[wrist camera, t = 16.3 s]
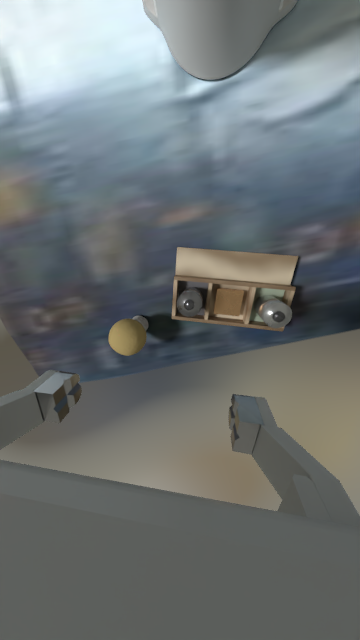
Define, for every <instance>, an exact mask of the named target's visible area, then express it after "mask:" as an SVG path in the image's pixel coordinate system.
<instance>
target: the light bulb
mask: <svg viewBox="0 0 360 640" xmlns="http://www.w3.org/2000/svg"><path fill="white" fill-rule="evenodd" d="M147 329H148V321H147V320H146V318H144V317H143V316H135V317H134V318H133V319H123V320H120V321H118V322H117V323H116V324H115V325H114V326H113V327H112V328H111V330H110V333H109V344H110V346H111V347H112V348H113V349H114V350H115V351H116V352H118V353H120V354H122V355H127V356H129V355H133V354H135V353H137V352H139V351H140V350H141V349H142V348H143V346H144V344H145V342H146V330H147Z"/></svg>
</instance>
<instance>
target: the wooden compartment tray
mask: <svg viewBox="0 0 360 640" xmlns="http://www.w3.org/2000/svg"><path fill="white" fill-rule="evenodd" d="M297 259H298V256H288V255H275V254H262V253H248V252H235V251H222V250H208V249H195V248H182V247H177V260H176V275H175V276H174V289H173V306H172V319H177V320H186V321H195V322H204V323H213V324H222V325H231V326H240V327H248V328H257V329H266V330H275V331H283V330H284V327H281V328H271V327H269V326H268V325H267V324H266V323H265V322H264V321H263V320H262V319H261V317H260V316H259V315H258V314H257V313H256V311H255V309H254V303H255V301H256V300H257V298H259V297H260V296H262V295H272V296H274V297H275V298H277V299H278V300H280V301H281V302H283V303H285V304H286V305H288V306H289V307H290V306H291V303H292V299H293V296H294V293H295V289H296V287H294V286H291V285H290V284H291V280H292V277H293V273H294V270H295V266H296V263H297ZM189 287H195V288H198V289H199V290H200V291H201V293H202V295H203V301H202V308H201V311H200V312H199V313H198V314H197V315H195V316H192V317H187V316H184V315H182V314H181V313H180V312H179V310H178V308H177V300H178V298H179V296H180V295H181V294H182V292H183V291H184V290H185V289H187V288H189ZM217 288H225V289H235V290H243V291H244V295H243V300H242V305H241V310H240V315H239V316H231V315H222V314H214V305H215V298H216V291H217Z"/></svg>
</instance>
